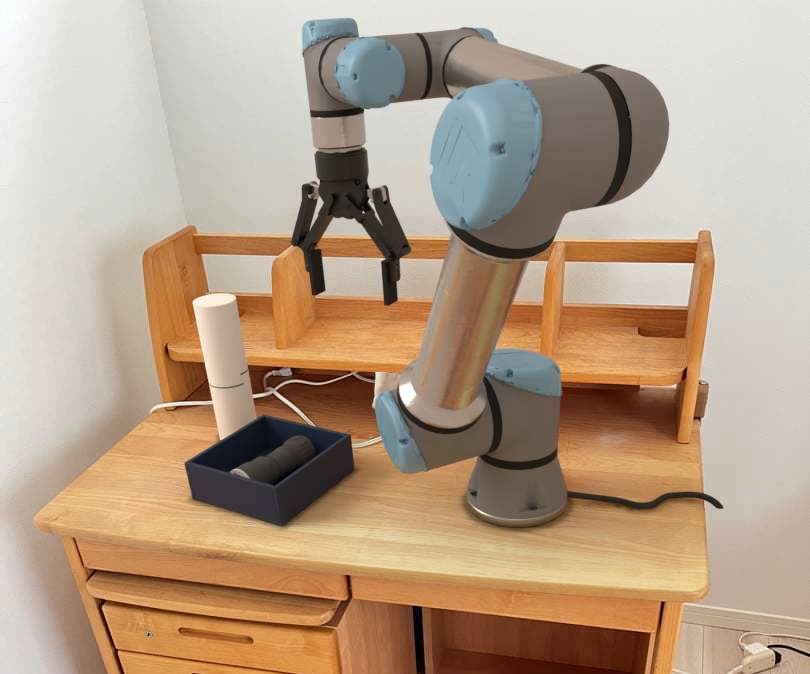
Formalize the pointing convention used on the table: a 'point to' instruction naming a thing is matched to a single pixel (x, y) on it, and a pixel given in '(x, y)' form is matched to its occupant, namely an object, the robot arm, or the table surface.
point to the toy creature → (385, 383)
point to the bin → (290, 490)
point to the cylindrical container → (225, 361)
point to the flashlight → (278, 461)
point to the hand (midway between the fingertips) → (354, 298)
